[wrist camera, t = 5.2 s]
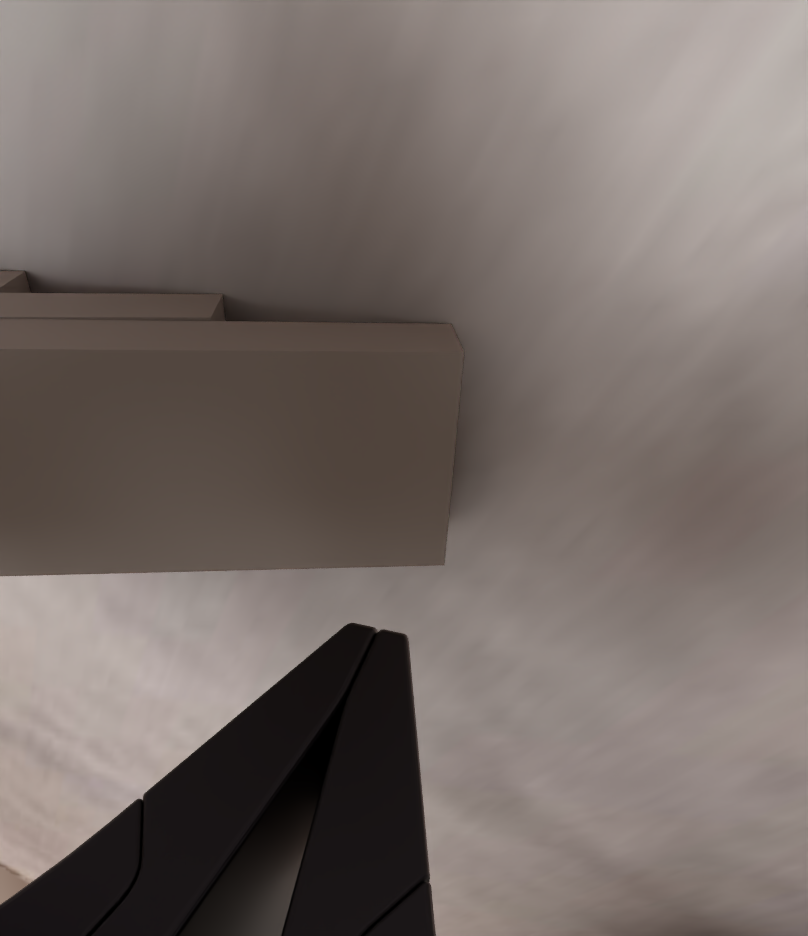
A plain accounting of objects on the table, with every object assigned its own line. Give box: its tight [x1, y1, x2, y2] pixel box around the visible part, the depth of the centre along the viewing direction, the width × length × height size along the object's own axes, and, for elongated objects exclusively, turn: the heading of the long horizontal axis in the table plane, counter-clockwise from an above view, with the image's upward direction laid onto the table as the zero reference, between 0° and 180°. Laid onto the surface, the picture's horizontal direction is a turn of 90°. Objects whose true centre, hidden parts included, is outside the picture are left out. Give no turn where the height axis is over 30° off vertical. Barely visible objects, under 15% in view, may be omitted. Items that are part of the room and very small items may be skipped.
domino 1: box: [0, 319, 464, 576], centre depth 13 cm, size 2×5×10 cm
